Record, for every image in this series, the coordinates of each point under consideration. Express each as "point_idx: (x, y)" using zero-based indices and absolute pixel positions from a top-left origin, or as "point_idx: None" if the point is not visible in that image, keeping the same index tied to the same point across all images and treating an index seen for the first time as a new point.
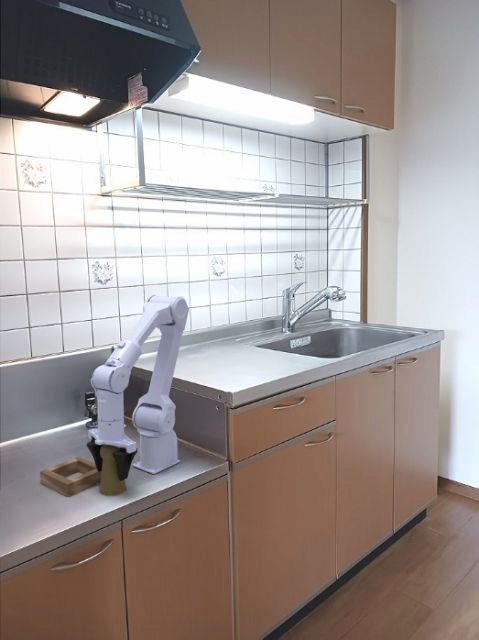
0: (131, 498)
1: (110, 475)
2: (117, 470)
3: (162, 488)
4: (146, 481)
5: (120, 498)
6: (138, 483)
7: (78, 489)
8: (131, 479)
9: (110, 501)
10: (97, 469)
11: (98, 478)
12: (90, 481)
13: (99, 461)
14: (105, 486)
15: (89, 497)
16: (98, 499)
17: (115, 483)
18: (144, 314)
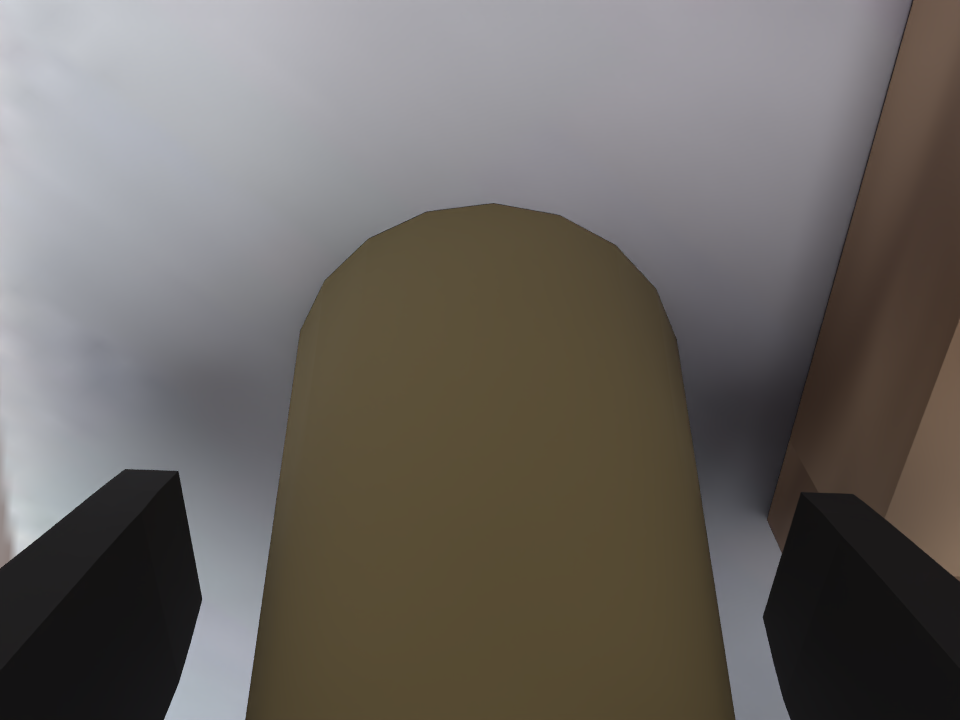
0: (64, 360)
1: (332, 467)
2: (44, 615)
3: None
4: None
5: (174, 276)
6: None
7: (940, 12)
8: None
9: (201, 125)
10: (859, 513)
11: (835, 436)
12: (884, 298)
13: (900, 691)
14: (434, 284)
15: (601, 4)
16: (412, 51)
17: (300, 414)
18: None
